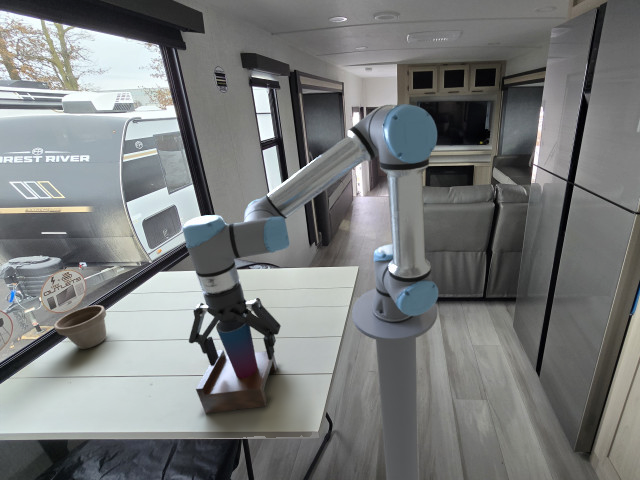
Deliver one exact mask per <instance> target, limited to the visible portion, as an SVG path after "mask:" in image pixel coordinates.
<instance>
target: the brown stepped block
mask: <svg viewBox="0 0 640 480" xmlns="http://www.w3.org/2000/svg"><path fill="white" fill-rule="evenodd" d="M216 351H217V353H218V356H219V358H218V360H217V361H216V363H215V365H214V366H211V365H210V364H209V365H208V366H207V368H206V370H205V371H204V374H203V376H202V377H201V379H200V381H199V382H198V385H197V387H196V388H195V391H196V393H197V396H198V399H199V401H200V403H201V406H202V409H203V411H204V413H205V414H212V413H219V412H226V411H235V410H243V409H253V408H261V407H266V405H267V403H268V399H267V396H266V392H265V388H266V387H265V386H266V383H267V380H268V378H269V374H270V373H275V372H277V369H278V365H277V361H276V357H275V353H274V354H273V358H272V360H269V359H268V355H267V352H266V350H265V351H257V352H256V351H255V356H256V362H257V370H256V372H255V373H254V374H253V375H251V376H249V377H247V378H238V377H237V376H236V374H235V372H234V369H233V367H232V365H231V362H230V360H229V357H228V355H227V354H225V349H218V350H216Z"/></svg>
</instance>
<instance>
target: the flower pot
mask: <svg viewBox="0 0 640 480" xmlns="http://www.w3.org/2000/svg"><path fill="white" fill-rule="evenodd" d="M106 316H107V311H106V310H105V307H104V306H103V305H99V304H98V305H96V304H95V305H90V306H84V307H82V308H78V309H77V310H74V311H71V312H69V313H67V314H65V315H63V316H61V317H60V318H59V319H58V320H57V321H56V322H55V323H54V325H53V328H54V330H55V331H56V333H57V334H58V335H61V336H65V337H66V338H67V339H68V340H69V341H71V342H72V343H73V344H74V345H75V346H76V347H78V348H79V349H81V350H86V349H90V348H94V347H95V346H96V347H97V345H100V344H101V343H103V342H104V341H105V340H106V338H107V327H106V322H105V321H106V320H105V318H106Z"/></svg>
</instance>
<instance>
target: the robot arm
mask: <svg viewBox="0 0 640 480" xmlns="http://www.w3.org/2000/svg"><path fill="white" fill-rule="evenodd" d="M437 141H438V129H437V125H436V123H435V120H434V119H433V117H432V115H431V114H430V113H429V112H428V111H426V109H424V108H422V107H420V106H418V105H413V104H410V103H407V104H406V103H403V104H385V105H381V106H379V107H377V108H375V109H373V110H372V111H371V112H370V113H368V114H367V115H366V116H365V117H363V118H362V119H361V120H359V121H358V122H356V123H355V124H354V125H353V126H352V127H351V128H349V129H348V130H347V135H346V136H345V137H344V138H343V139H341V140H340V141H339V142H337V143H335V144H334V145H332V147H330V148H329V149H327V150H326V151H325V152H323V153H322V154H320V155H319V156H318V157H316V158H315V159H314V160H312V161H311V162H310V163H308V164H307V165H306V166H304V167H302V168H301V169H300V170H298V171H297V172H296V173H294V174H293V175H292V176H291V177H289V178H288V179H286V180H285V181H283V182H282V183H281V184H279V185H278V186H277V187H275V188H274V189H273V190H271V191H270V192H268V193H267V194H265V195H264V196H263V197H261V198H259V199H255V200H252V201H251V202H250V203H249V204H248V205H247V207H246V208H245V210H244V213H243V221H241V222H235V223H226V222H225V220H224V218H223V217H222V216H221V215H218V214H213V215H210V214H209V215H208V214H207V215H202V216H197V217H194V218H191V219H190V220H187V221H186V222H185V223H184V225H183V226H182V234H183V236H184V240H185V247H186V249H187V252H188V254H189V256H190V260H191V262H192V265H193V268H194V270H195V274H196V278H197V280H198V283H199V287H200V289H201V291H202V295H203V299H204V301H205V303H203V302H199V303H197V305H196V307H194V309H193V316H194V319H193V323H192V327H191V331H190V334H189V338H188V343H189V344H194V343H196V344H197V345H199V346H200V350H201V352H202V353H203V354H204V355H206V356H207V359H208V362H209V365H211V366H214V365H215V363H216V361H217V360H218V358H219V356H218V353H217V351H218V350H217V348H216V345H215V342H214V338H213V337H212V336H210V335H211V333H212V331H213V330H214V328H216V326H217V324H218V322H219V321H221V322H223V323H227V322H237V321H240V322H241V323H246V324H247V325H249V326H250V328H252V329H253V330H255V331H256V332H258V333H260V334H261V335H262V336H263V337H262V340H263V344H264V347H265V351H266V352H267V355H268V359H269V360H272V358H273V354H274V355H275V344H276V341H277V339H276V335H279V333H280V329H281V326H282V325H281V324H280V323H279V321H277V319H276V318H275V317H274V316H273V315H272V314H271V313H270V312H269V311H268V310H267V308H266V307H265V306H264V305H263V304H262V300H261V299H260V298H259V297H255V298H254V299H253V300H249V301H247V300H246V298H245V294H244V289H243V287H242V283H241V281H240V275H239V272H238V269H237V264H236V261H235V260H236V259H237V260H238V259H242V258H247V257H253V256H258V255H263V254H264V255H265V254H271V253H272V254H273V253H276V252H279V251H282V250H286V249H288V248H289V247H290V245H291V244H290V238H289V232H288V227H287V222H286V219H287V218H289V217H290V216H291V215H292V214H294V213H295V212H297V211H298V210H299V209H301V208H302V207H304V206H305V205H306V204H307V203H309V202H311V200H313V199H314V198H316V197H317V196H318V195H320V194H321V193H323V192H324V191H325V190H327V189H328V188H330V186H332V185H333V184H335V183H337V181H339V180H340V179H341V178H343V177H344V176H345V175H347V174H348V173H350V172H351V171H352V170H354V169H355V168H357V167H358V166H359V165H360V164H362V163H363V162H365V161H366V162H371V161H373V160H374V159H375V158H377V157H378V160H379V169H380V170H381V171H383V172H384V174H386V179H387V191H388V207H389V218H390V220H389V221H390V233H391V244H385V245H382V246H379V247H377V248H376V249H375V250H374V252H373V265H374V266H373V267H374V278H375V288H376V292H375V296H374V299H373V302H372V312H373V314H374V316H375V317H376V318H378V319H379V320H381V321H384V322H388V323H400V322H404V321H407V320H409V319H410V318H412V317H413V316H417V315H420V314H423V313H425V312H426V311H428V310H429V309H430V308H431V307H432V306H433V305H434V304H435V303H436V302H437V301H438V298H439V288H438V286H437V284H436V283H435V282H434V280H433V279H432V265H431V262H430V260H428V258H427V257H426V247H425V246H426V245H425V244H426V243H425V241H426V240H425V209H424V208H425V206H424V172H425V170H426V169H428V167H430V156H431V154H432V152H433V151H435V148H436V145H437ZM432 280H433V281H432ZM207 313H208V314H209V315H211V316H212V317H213V318H212V320H211V321H210V322H209V324H208V326H207V327H206V329H205V330H204V332H203V333H202V334H200V333H201V329H202V326H203V323H204V319H205V315H206V314H207ZM253 313H254V314H253ZM243 314H245V316H244V317H243V316H242V315H243Z"/></svg>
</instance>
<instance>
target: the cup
mask: <svg viewBox="0 0 640 480" xmlns="http://www.w3.org/2000/svg"><path fill="white" fill-rule="evenodd" d="M242 316H243V317H244V316H245V314H243V315H242ZM215 329H216V332H217V334H218V336H219V339H220V341H221V343H222V346H223V348H224V351H225V352H226V355H228V357H229V360H230V362H231V365H232V367H233V369H234V372H235V374H236V376H237V377H238V378H247V377H249V376H251V375H253V374H254V373H255V372H256V370H257V362H256V356H255V352H256V351H255V346H254V341H253V335H252V331H251V327H250V326H249V325H247V324H246V323H241V322H240V321H237V322H227V323H223V322H221V321H218V323H217V324H216V326H215Z"/></svg>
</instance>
